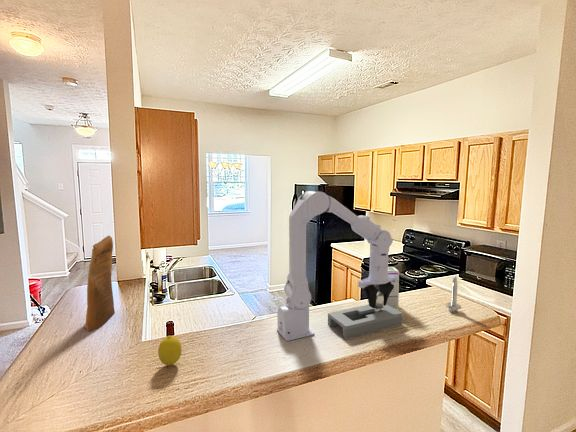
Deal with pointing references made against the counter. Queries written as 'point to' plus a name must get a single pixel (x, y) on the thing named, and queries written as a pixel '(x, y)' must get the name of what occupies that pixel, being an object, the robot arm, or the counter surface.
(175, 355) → the lemon
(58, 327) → the counter surface
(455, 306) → the screw
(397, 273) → the syrup box
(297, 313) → the robot arm
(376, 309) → the steel peg
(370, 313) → the keyhole plate
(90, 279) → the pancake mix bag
